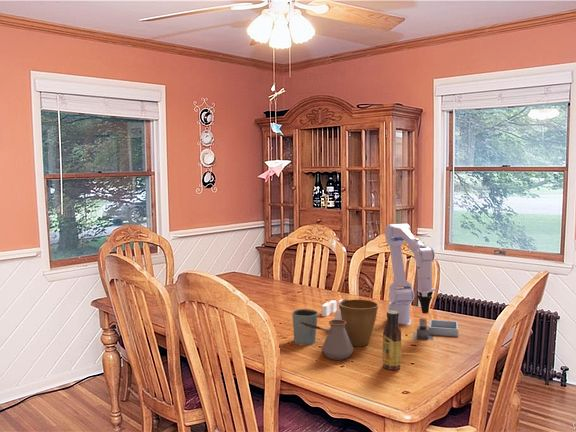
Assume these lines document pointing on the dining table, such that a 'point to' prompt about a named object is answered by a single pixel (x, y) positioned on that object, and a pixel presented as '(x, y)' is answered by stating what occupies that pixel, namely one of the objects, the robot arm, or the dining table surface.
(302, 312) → the grey cup
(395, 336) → the sauce bottle
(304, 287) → the dining table surface
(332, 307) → the napkin holder
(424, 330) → the knob
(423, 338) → the stud plate
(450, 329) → the bin
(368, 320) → the plant pot
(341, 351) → the coffee pot
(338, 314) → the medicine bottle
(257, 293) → the dining table surface
